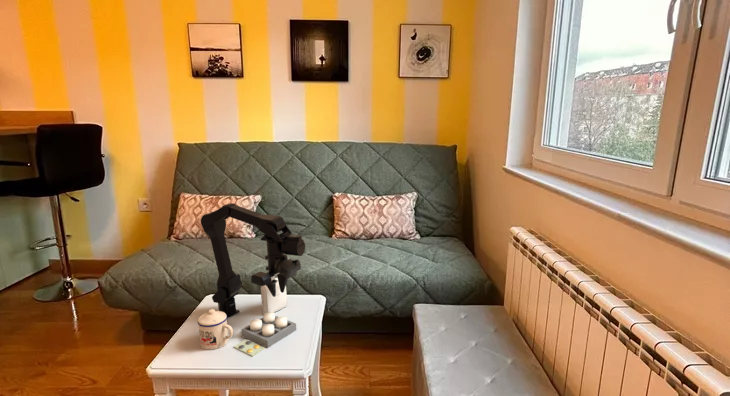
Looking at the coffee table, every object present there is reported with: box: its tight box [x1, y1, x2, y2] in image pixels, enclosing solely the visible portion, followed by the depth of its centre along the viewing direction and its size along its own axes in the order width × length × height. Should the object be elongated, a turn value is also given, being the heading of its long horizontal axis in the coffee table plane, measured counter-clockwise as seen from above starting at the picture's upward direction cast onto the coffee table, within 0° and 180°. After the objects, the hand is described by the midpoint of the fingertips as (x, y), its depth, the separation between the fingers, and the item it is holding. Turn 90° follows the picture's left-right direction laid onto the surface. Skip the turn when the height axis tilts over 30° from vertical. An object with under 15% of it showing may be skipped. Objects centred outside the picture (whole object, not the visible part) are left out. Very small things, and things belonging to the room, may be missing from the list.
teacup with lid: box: [197, 308, 234, 350], centre depth 132 cm, size 12×9×12 cm
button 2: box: [262, 324, 275, 338], centre depth 134 cm, size 4×4×3 cm
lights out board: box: [233, 315, 297, 357], centre depth 137 cm, size 13×19×2 cm
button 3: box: [262, 312, 276, 324], centre depth 143 cm, size 4×4×3 cm
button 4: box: [275, 316, 288, 330], centre depth 139 cm, size 4×4×3 cm
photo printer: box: [260, 277, 288, 315], centre depth 155 cm, size 10×4×12 cm, turn 141°
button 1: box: [249, 318, 262, 333], centre depth 138 cm, size 4×4×3 cm
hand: (278, 294), depth 144 cm, fingers open, 4 cm apart
